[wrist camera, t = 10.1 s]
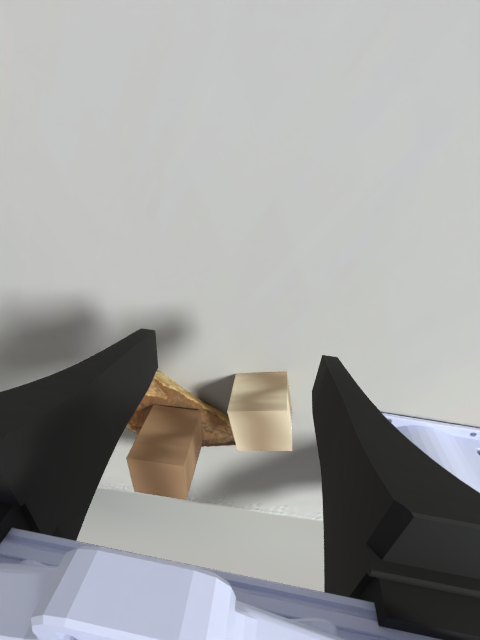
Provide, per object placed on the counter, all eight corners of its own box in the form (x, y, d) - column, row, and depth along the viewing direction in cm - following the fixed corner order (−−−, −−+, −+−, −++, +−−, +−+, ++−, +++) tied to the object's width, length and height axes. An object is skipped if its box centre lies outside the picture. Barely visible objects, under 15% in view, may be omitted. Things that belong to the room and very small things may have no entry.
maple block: (287, 370, 25) (287, 410, 21) (291, 408, 27) (292, 450, 23) (236, 372, 26) (227, 411, 22) (244, 409, 28) (237, 450, 24)
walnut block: (201, 410, 27) (183, 466, 22) (202, 443, 29) (186, 499, 24) (153, 404, 27) (126, 458, 22) (158, 437, 29) (134, 491, 25)
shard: (264, 429, 30) (263, 448, 28) (213, 467, 34) (209, 485, 32) (156, 359, 27) (146, 374, 25) (115, 409, 32) (105, 425, 30)
